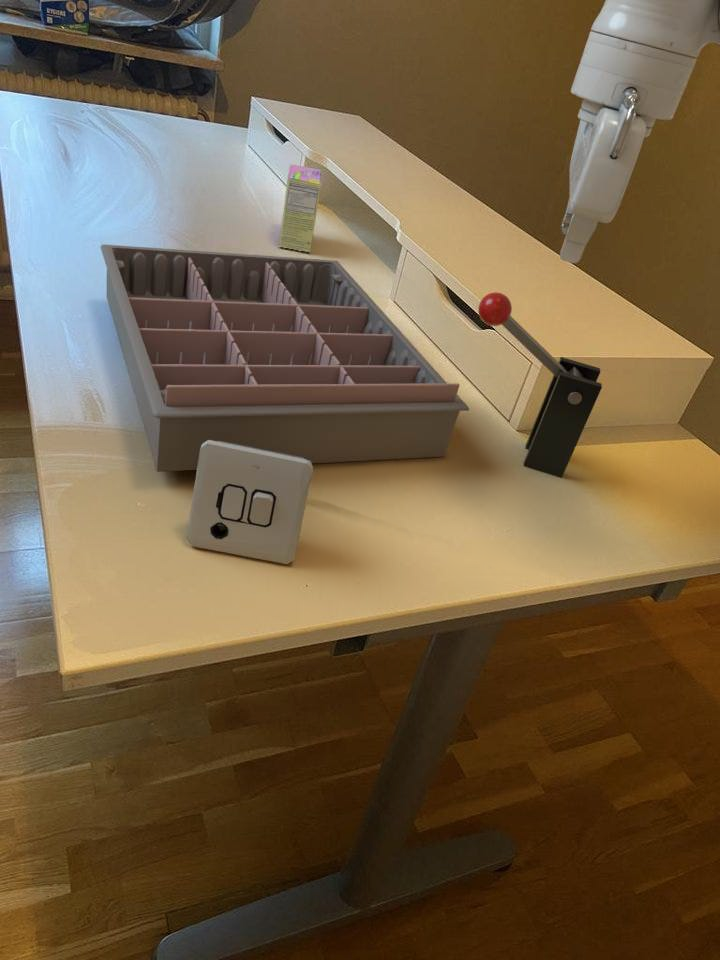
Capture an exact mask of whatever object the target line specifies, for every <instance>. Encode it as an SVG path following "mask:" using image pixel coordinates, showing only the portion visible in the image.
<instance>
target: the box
mask: <svg viewBox="0 0 720 960" xmlns="http://www.w3.org/2000/svg"><path fill="white" fill-rule="evenodd" d="M321 189H322V169H317V168H313V167H308V166H302V165H297V164H289V169H288V175H287V181H286V188H285V197H284V205H283V213H282V219H281V226H280V231H279V232H280V233H279V240H278V247H279V246H281V247H286V248H291V249H296V250H301V251H305V252H304V253H306V252H309V253H308V254H310V253H311V251H312V244H313V238H314V232H315V225H316V219H317V214H318V207H319V200H320V197H321V196H320V195H321V191H322V190H321ZM301 251H300V252H301Z"/></svg>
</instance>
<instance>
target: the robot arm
mask: <svg viewBox="0 0 720 960" xmlns="http://www.w3.org/2000/svg"><path fill="white" fill-rule="evenodd" d="M708 44H714V45H717V47H720V0H605V1H604V4H603V6H602V7H601V10H600V12H599V13H598V15H597V17H596V18H595V20H594V21H593V23H592V25H591V28H590V32H589V33H588V37H587V39H586V43H585V46H584V49H583V52H582V54H581V55H582V56H581V58H580V61H579V64H578V67H577V70H576V73H575V77H574V78H573V81H572V85H571V89H570V93H571V94H572V95H573V96H576V97H578V98H581V99H582V102H581V104H580V107H581V108H579V110H578V113H577V118H578V119H579V124H578V128H577V132H576V136H575V140H574V145H573V149H572V153H571V158H570V163H569V170H568V171H569V197H568V202H567V206H566V210H565V214H564V216H563V219H562V222H561V224H560V231H561V234H563V235H565V237H564V239H563V242H562V245H561V248H560V252H559V258H560V259H561V261H564V262H567V263H571V264H577V263H579V262H580V261H581V260H582V257H583V253H584V252H585V248H586V246H587V244H588V242H589V241H590V240H591V238H592V236H593V234H594V233H595V231H596V229H597V226H598V223H602V224H609V223H611V222H612V221H613V219H614V218H615V217H616V214H617V213H618V210H619V208H620V206H621V203H622V200H623V198H624V195H625V193H626V190H627V188H628V184H629V182H630V180H631V176H632V174H633V171H634V168H635V166H636V163H637V160H638V157H639V155H640V153H641V149H642V145H643V143H644V142H643V141H644V138H648V137H650V135H651V133H652V130H653V127H654V125H655V122H656V121H657V120H662V121H663V120H664V121H672V119H673V118H674V116H675V113H676V111H677V109H678V107H679V104H680V102H681V99H682V97H683V94H684V92H685V90H686V87H687V85H688V82H689V80H690V77H691V75H692V73H693V70H694V68H695V65H696V63H697V60H698V57H699V55H700V54H701V51H702V49H703V48H704V47H705V46H707V45H708Z"/></svg>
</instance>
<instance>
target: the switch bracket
mask: <svg viewBox="0 0 720 960" xmlns="http://www.w3.org/2000/svg"><path fill="white" fill-rule="evenodd" d="M558 362H559V363H560V364H561V365H562V366H563V367H564V368H565V369H566V370H567V371H570V370H571V369H572V368H573V367H575V368H576V369H577V370H578V371H579V372H580V373H581V374H582V375H583V376H584V377H586V378H587V379H585V378H581V377H578V376H574V375H571V374H568V373H564V372H560V374H559V376H558V378H557V377H556V376H555V375H554V374H552V377H551V380H550V382H549V385H548V388H547V391H546V392H545V395H544V398H543V400H542V402H541V405H540V408H539V410H538V413H537V415H536V418H535V421H534V423H533V425H532V428H531V430H530V433H529V436H528V438H527V440H526V443H525V446H524V447H525V448H524V449H525V450H527V453H526V456H525V458H524V460H523V467H525V468H527V469H531V470H534V471H538V472H541V473H544V474H547V475H551V476H554V477H557V478H561V479H562V478H563V476H564V474H565V471H566V469H567V467H568V465H569V462H570V460H571V458H572V455H573V454H574V451H575V449H576V447H577V445H578V442H579V440H580V437H581V436H582V433H583V431H584V429H585V427H586V425H587V422H588V420H589V418H590V416H591V413H592V411H593V408H594V406H595V404H596V402H597V399H598V397H599V395H600V393H601V391H602V390H603V389H602V388H603V384H602V383H601V382H599V381H598V379H599V376H600V374H601V368H600V367H598V366H593V365H590V364H588V363H584V362H580V361H576V360H573V359H569V358H566V357H563V356H561V357H560V358H559V360H558Z"/></svg>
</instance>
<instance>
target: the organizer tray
mask: <svg viewBox="0 0 720 960" xmlns="http://www.w3.org/2000/svg"><path fill="white" fill-rule="evenodd" d="M100 250H101V253H102V256H103V260H104V263H105V267H106V300H107V303H108V304H107V305H108V306H109V310H110V314H111V317H112V321H113V324H114V328H115V331H116V336H117V337H118V342H119V345H120V348H121V352H122V356H123V359H124V363H125V366H126V369H127V370H126V371H127V373H128V377H129V379H130V384H131V387H132V390H133V395H134V398H135V400H136V404H137V408H138V411H139V415H140V419H141V421H142V425H143V428H144V432H145V435H146V439H147V442H148V446H149V449H150V453H151V457H152V461H153V463H154V466H155V470H156V472H157V473H159V472H176V471H178V472H179V471H197V466H198V460H199V453H200V448H201V446H202V444H203V443H204V442H206V441H208V440H212V441H218V440H219V441H223V442H228V443H233V444H238V445H243V446H248V447H253V448H258V449H263V450H268V451H273V452H278V453H283V454H288V455H293V456H298V457H303V458H304V459H306V460H309V461H311V463H312V464H326V463H327V464H329V463H346V462H347V463H348V462H362V461H383V460H385V461H386V460H400V459H402V460H404V459H421V458H422V459H423V458H438V457H439V458H441V457H445V456H446V452H447V450H448V447H449V444H450V440H451V438H452V434H453V431H454V428H455V425H456V422H457V420H458V416H459V414H460V412H467V411H470V407H469V406H468V405H467V404H466V402H464V400H463V399H462V398H461V397H460V395H458V393H459V392H458V391H459V389H460V383H457V382H456V383H455V382H454V383H451V382H450V383H448V382H446V380H445V379H444V378H443V377H442V376H441V375H440V374H439V372H438V371H437V369H435V368H434V367H433V365H432V364H431V363H430V362H429V361H428V360H427V359H426V358H425V357H424V355H422V354H421V352H420V351H419V350H418V349H417V348H416V347H415V346H414V344H413V343H412V342H411V341H410V340H409V339H408V338H407V337H406V335H405V334H403V332H402V331H401V330H400V329H399V328H398V327H397V326H396V325H395V323H394V322H393V321H392V319H390V318H389V316H387V314H386V313H385V312H384V311H383V310H382V309H381V308H380V307H379V306H378V304H377V303H376V302H375V301H374V300H373V299H372V298H371V297H370V295H369V294H368V293H367V292H366V291H365V290H364V289H363V287H362V286H360V285H359V283H358V282H357V281H356V280H355V279H354V277H353V276H352V275H351V274H350V273H349V272H348V271H347V270H346V269H345V268H344V267H343V266H342V265H341V263H340V262H339V261H338V260H333V259H317V258H305V257H304V258H303V257H291V256H278V255H277V256H275V255H264V254H263V255H262V254H245V253H231V252H220V251H206V250H205V251H204V250H190V249H189V250H188V249H173V248H160V247H159V248H158V247H147V246H132V245H116V244H101V245H100Z"/></svg>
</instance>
